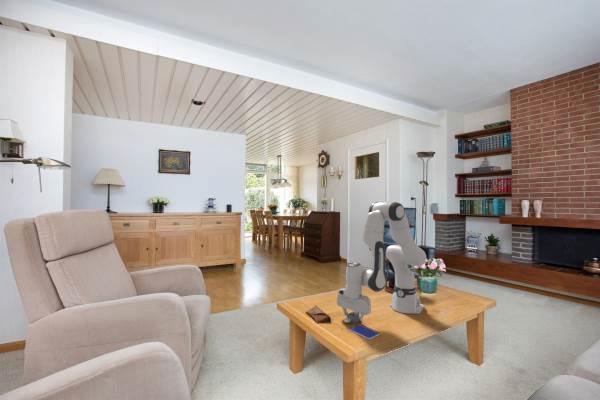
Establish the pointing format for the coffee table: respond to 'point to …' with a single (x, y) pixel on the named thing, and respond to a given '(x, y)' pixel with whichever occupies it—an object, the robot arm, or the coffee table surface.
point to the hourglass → (392, 280)
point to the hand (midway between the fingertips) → (353, 318)
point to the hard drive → (364, 331)
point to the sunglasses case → (318, 315)
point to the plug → (352, 317)
